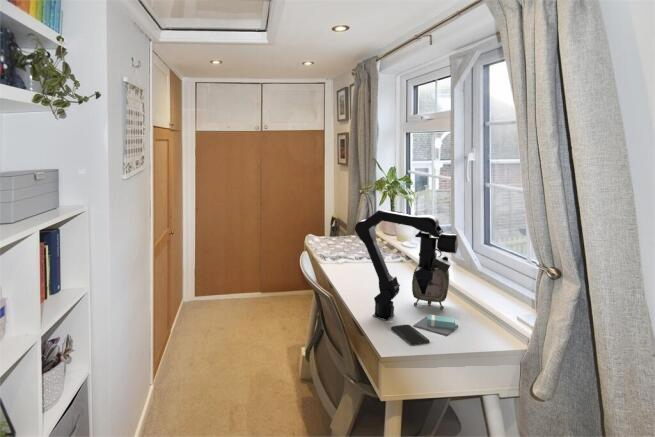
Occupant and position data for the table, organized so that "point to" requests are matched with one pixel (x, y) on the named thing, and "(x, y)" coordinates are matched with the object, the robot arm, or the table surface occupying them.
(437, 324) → the box
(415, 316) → the table surface
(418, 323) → the felt mat
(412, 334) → the phone
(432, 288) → the tabletop clock
